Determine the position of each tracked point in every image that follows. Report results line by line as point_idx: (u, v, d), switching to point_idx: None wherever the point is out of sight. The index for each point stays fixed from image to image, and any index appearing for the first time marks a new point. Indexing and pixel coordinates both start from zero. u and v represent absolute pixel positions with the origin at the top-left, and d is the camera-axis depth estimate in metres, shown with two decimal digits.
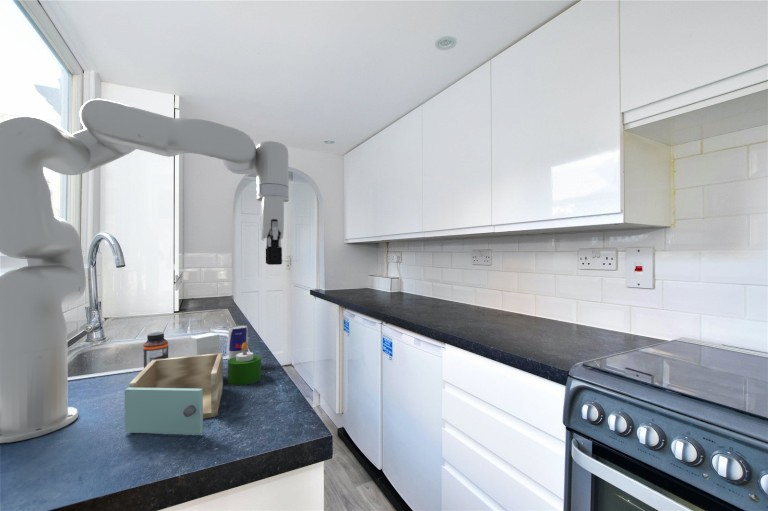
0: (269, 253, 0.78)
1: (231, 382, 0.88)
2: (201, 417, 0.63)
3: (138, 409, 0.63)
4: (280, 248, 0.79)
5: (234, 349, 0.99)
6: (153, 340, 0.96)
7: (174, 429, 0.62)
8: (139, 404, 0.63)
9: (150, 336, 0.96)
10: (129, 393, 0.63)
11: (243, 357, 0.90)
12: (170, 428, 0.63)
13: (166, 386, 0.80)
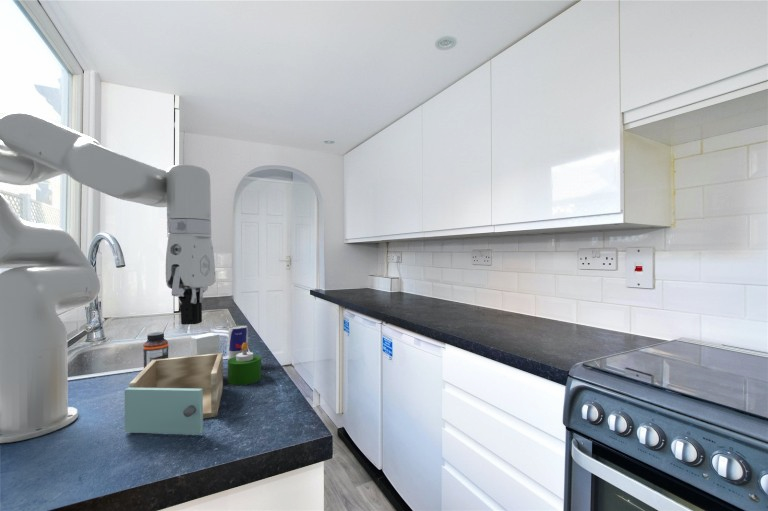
0: None
1: (231, 382, 0.88)
2: (201, 417, 0.63)
3: (138, 409, 0.63)
4: None
5: (234, 349, 0.99)
6: (153, 340, 0.96)
7: (174, 429, 0.62)
8: (139, 404, 0.63)
9: (150, 336, 0.96)
10: (129, 393, 0.63)
11: (243, 357, 0.90)
12: (170, 428, 0.63)
13: (166, 386, 0.80)
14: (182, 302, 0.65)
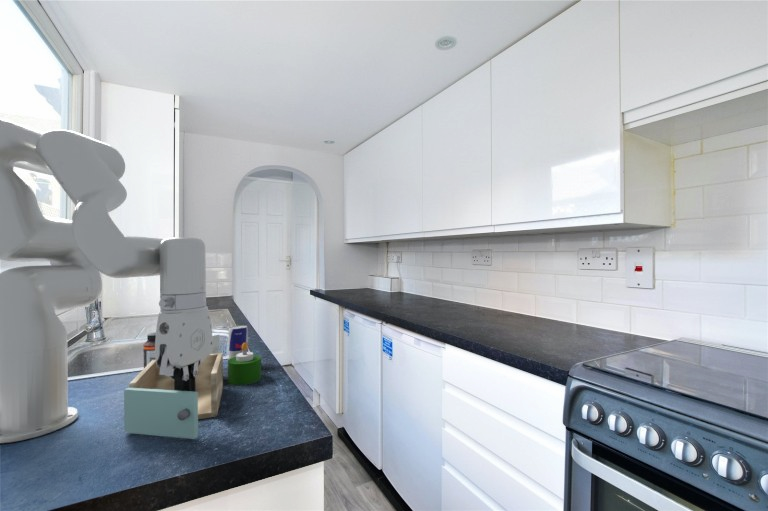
0: None
1: (231, 382, 0.88)
2: (196, 421, 0.61)
3: (136, 409, 0.63)
4: None
5: (234, 348, 0.99)
6: (153, 340, 0.96)
7: (170, 432, 0.62)
8: (137, 405, 0.63)
9: (150, 336, 0.96)
10: (128, 393, 0.63)
11: (243, 357, 0.90)
12: (166, 431, 0.62)
13: (166, 386, 0.80)
14: (174, 379, 0.63)
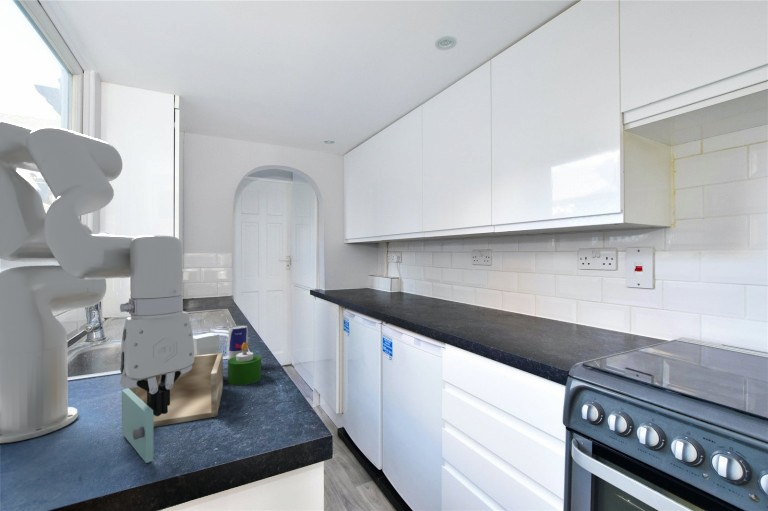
0: None
1: (231, 382, 0.88)
2: (150, 443, 0.54)
3: (125, 413, 0.61)
4: None
5: (234, 349, 0.99)
6: None
7: (137, 447, 0.57)
8: (125, 409, 0.61)
9: None
10: (123, 395, 0.62)
11: (243, 357, 0.90)
12: (136, 444, 0.57)
13: None
14: (144, 389, 0.58)
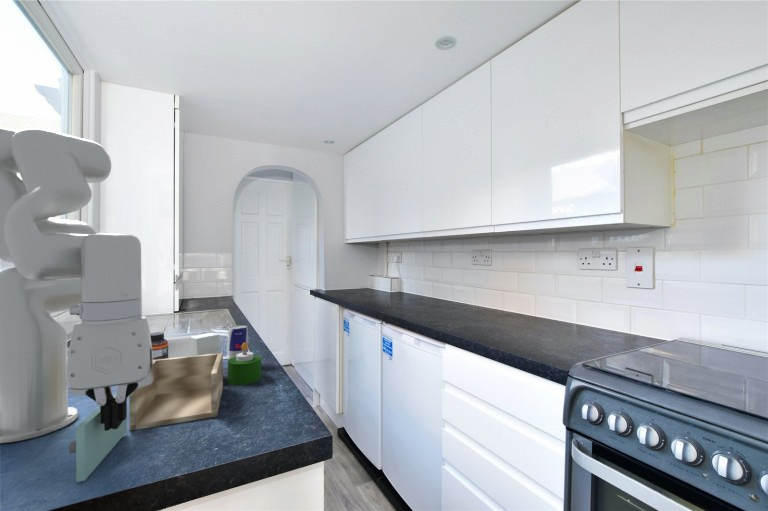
0: (117, 411, 0.53)
1: (231, 382, 0.88)
2: (80, 461, 0.49)
3: None
4: None
5: (234, 349, 0.99)
6: (153, 340, 0.96)
7: None
8: None
9: (150, 336, 0.96)
10: None
11: (243, 357, 0.90)
12: None
13: (166, 386, 0.80)
14: None
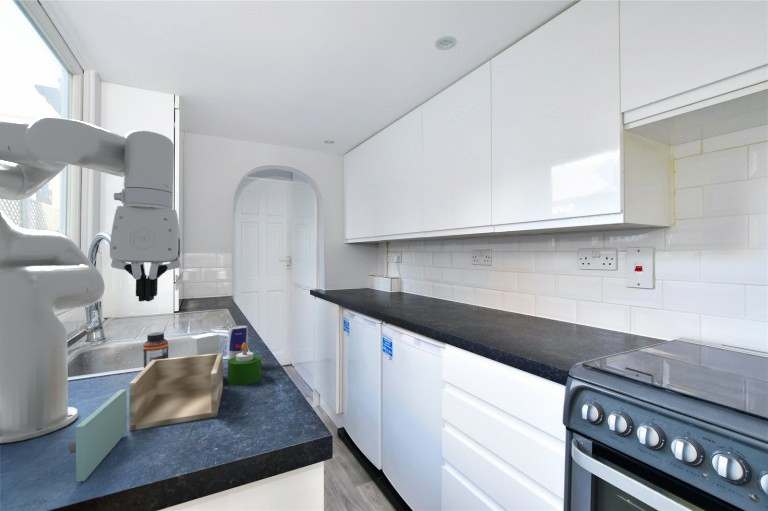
0: (149, 287, 0.62)
1: (231, 382, 0.88)
2: (80, 461, 0.49)
3: None
4: None
5: (234, 349, 0.99)
6: (153, 340, 0.96)
7: None
8: None
9: (150, 336, 0.96)
10: None
11: (243, 357, 0.90)
12: None
13: (166, 386, 0.80)
14: None
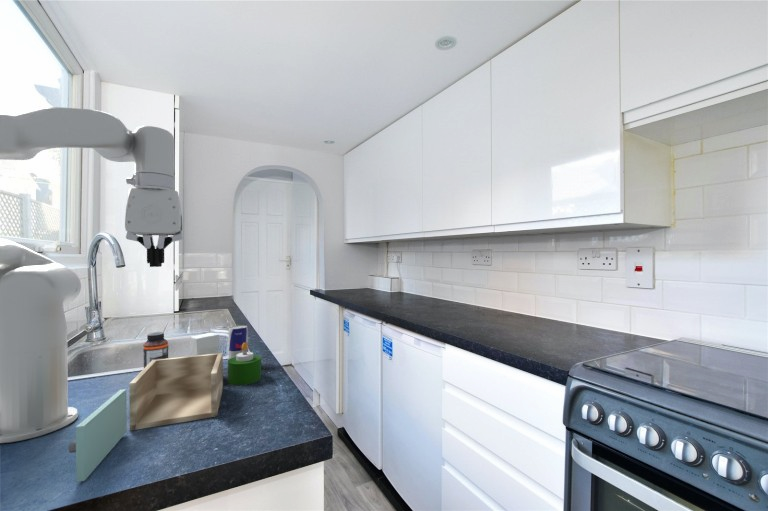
0: (158, 255, 0.75)
1: (231, 382, 0.88)
2: (80, 461, 0.49)
3: None
4: None
5: (234, 349, 0.99)
6: (153, 340, 0.96)
7: None
8: None
9: (150, 336, 0.96)
10: None
11: (243, 357, 0.90)
12: None
13: (166, 386, 0.80)
14: None
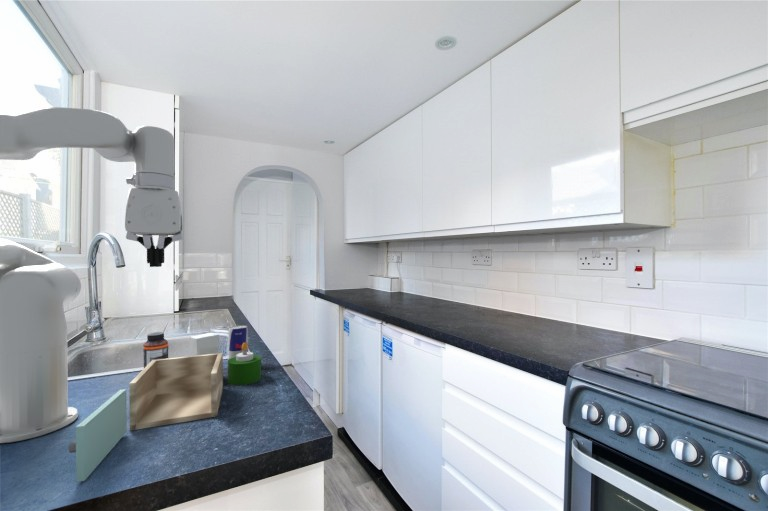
0: (158, 255, 0.75)
1: (231, 382, 0.88)
2: (80, 461, 0.49)
3: None
4: None
5: (234, 349, 0.99)
6: (153, 340, 0.96)
7: None
8: None
9: (150, 336, 0.96)
10: None
11: (243, 357, 0.90)
12: None
13: (166, 386, 0.80)
14: None
